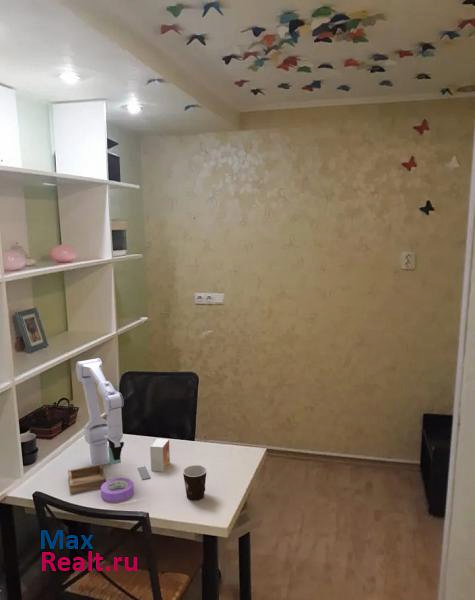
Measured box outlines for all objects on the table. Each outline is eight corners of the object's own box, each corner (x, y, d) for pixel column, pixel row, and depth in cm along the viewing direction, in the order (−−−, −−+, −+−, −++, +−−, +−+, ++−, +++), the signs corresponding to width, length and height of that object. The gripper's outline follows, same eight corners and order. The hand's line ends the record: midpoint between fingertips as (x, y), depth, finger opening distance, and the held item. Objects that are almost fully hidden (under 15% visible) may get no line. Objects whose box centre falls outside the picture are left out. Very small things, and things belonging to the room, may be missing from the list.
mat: (120, 472, 195) (120, 471, 195) (145, 467, 199) (145, 466, 199) (125, 483, 186) (124, 482, 186) (150, 478, 190) (150, 477, 190)
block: (109, 460, 190) (108, 446, 189) (119, 458, 191) (118, 444, 191) (110, 465, 186) (109, 450, 186) (120, 462, 188) (119, 448, 187)
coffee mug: (184, 490, 180) (183, 465, 179) (206, 489, 181) (206, 464, 180) (183, 508, 169) (182, 481, 167) (207, 506, 170) (206, 480, 168)
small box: (163, 471, 195) (162, 447, 193) (150, 470, 196) (149, 446, 194) (170, 462, 203) (169, 439, 201) (157, 461, 204) (156, 438, 202)
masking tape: (112, 484, 186) (112, 475, 185) (139, 489, 182) (138, 479, 182) (94, 500, 175) (94, 490, 174) (122, 506, 171) (122, 496, 171)
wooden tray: (68, 478, 190) (68, 470, 190) (102, 472, 195) (101, 464, 195) (70, 495, 178) (70, 486, 178) (106, 487, 183) (106, 479, 183)
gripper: (101, 419, 192) (103, 451, 194) (105, 432, 179) (107, 467, 181) (119, 416, 195) (121, 448, 197) (125, 429, 181) (126, 463, 183)
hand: (116, 457), depth 189 cm, fingers closed on block, 4 cm apart
